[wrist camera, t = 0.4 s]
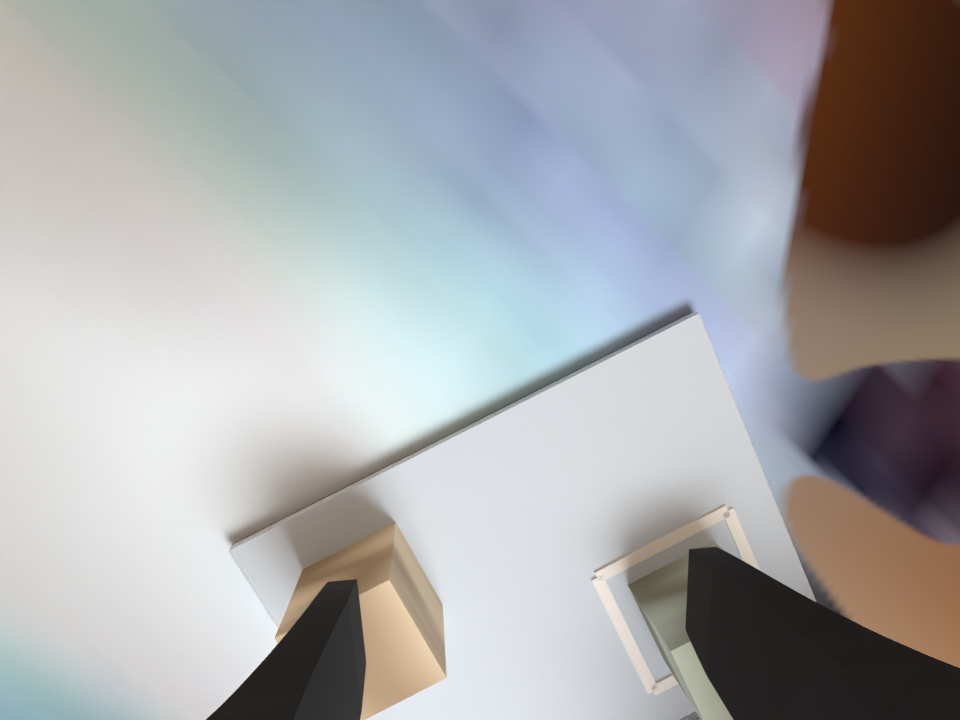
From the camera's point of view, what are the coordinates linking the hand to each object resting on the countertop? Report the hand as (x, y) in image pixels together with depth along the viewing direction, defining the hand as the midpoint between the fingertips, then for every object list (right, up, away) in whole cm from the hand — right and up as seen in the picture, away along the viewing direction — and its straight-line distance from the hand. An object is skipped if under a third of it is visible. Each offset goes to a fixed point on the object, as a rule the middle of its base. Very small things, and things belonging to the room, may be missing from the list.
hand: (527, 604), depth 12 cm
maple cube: (-5, -4, +10) cm, 12 cm away
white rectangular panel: (+2, -4, +11) cm, 12 cm away
